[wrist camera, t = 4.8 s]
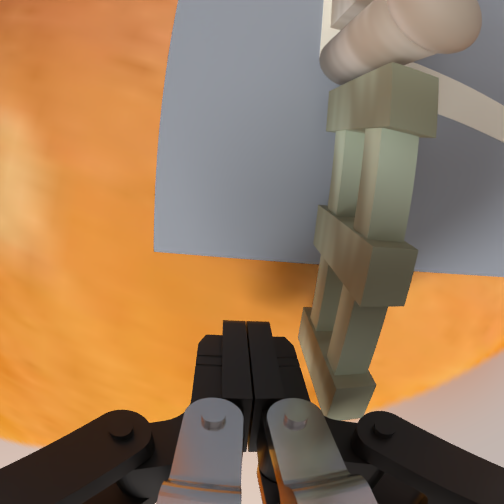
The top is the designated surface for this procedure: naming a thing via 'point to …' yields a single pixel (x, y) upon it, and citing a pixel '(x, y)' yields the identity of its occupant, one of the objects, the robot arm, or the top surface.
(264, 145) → the card
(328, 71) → the fence base
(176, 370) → the top surface
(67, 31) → the top surface
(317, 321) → the hinged panel
